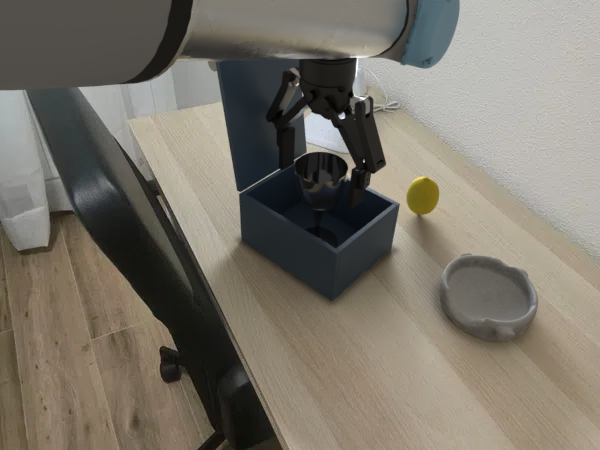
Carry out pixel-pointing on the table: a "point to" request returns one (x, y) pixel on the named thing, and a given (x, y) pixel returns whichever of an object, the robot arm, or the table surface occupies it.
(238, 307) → the table surface
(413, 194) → the lemon
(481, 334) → the dish
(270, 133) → the lid
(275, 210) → the chest
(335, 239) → the wine glass
